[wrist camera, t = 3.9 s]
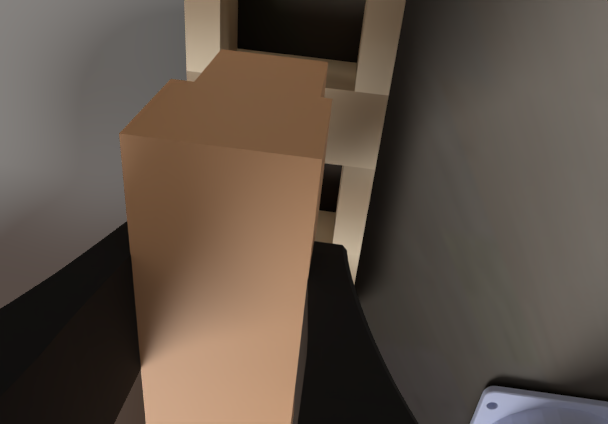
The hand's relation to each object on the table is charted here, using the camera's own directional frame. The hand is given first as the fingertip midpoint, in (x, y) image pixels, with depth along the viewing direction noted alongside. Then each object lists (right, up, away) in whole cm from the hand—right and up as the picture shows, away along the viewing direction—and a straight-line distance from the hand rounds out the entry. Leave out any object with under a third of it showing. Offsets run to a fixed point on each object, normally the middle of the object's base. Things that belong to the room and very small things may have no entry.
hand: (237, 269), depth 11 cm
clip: (0, +2, +4) cm, 4 cm away
